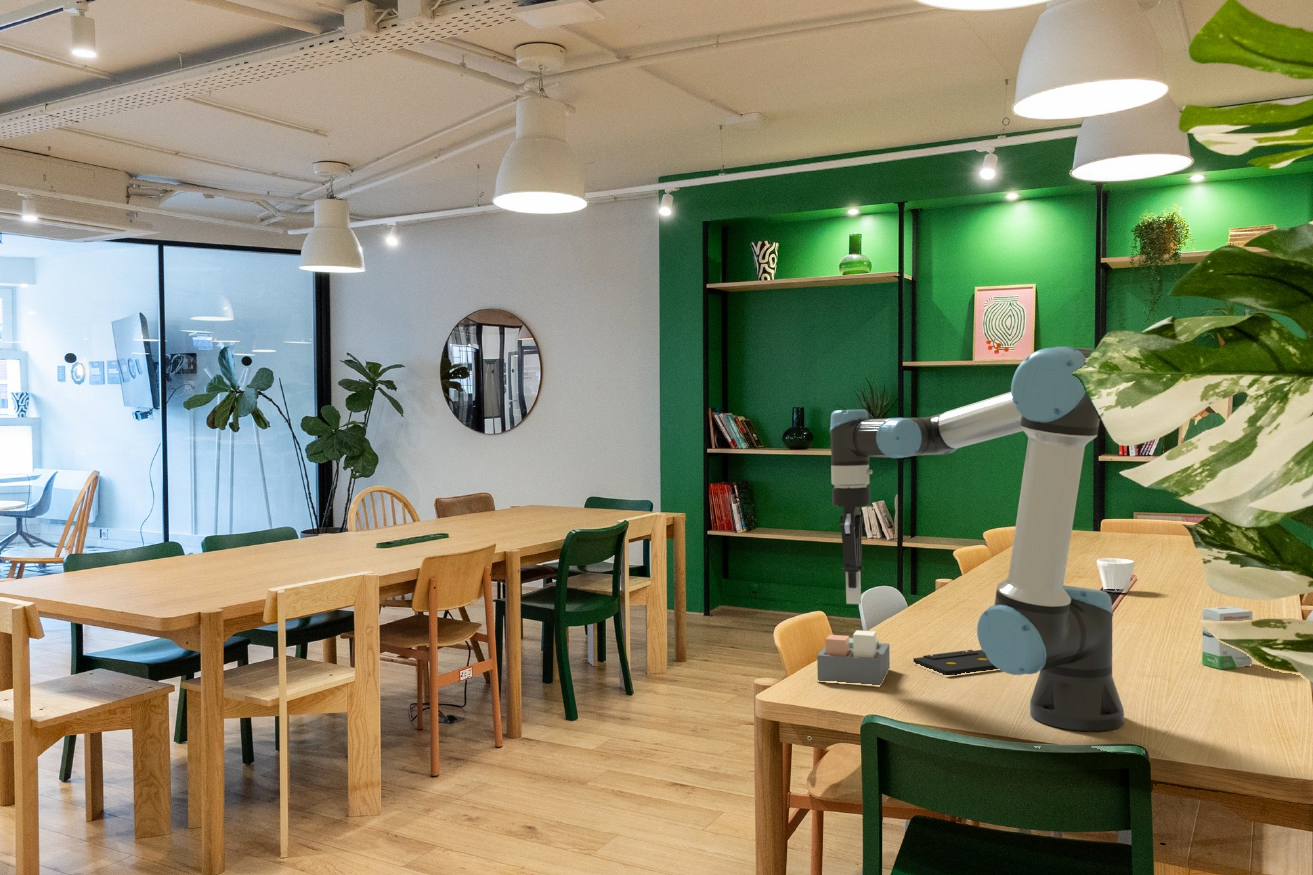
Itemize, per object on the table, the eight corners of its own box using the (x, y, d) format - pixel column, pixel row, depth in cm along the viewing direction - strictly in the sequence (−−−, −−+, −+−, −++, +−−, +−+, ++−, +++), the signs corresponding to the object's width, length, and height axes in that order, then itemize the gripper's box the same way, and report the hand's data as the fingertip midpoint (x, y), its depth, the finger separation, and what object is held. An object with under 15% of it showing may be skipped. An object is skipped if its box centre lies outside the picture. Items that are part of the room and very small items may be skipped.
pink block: (846, 669, 196) (845, 640, 196) (826, 668, 198) (825, 638, 198) (849, 665, 200) (849, 635, 200) (829, 663, 201) (829, 634, 201)
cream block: (873, 665, 194) (873, 635, 194) (853, 664, 196) (853, 634, 196) (876, 660, 198) (876, 631, 198) (856, 659, 199) (856, 630, 199)
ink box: (1220, 670, 201) (1219, 612, 201) (1200, 664, 206) (1200, 608, 205) (1254, 666, 203) (1253, 609, 203) (1234, 660, 208) (1234, 605, 208)
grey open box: (880, 687, 192) (879, 654, 192) (817, 682, 197) (817, 650, 197) (889, 669, 206) (889, 638, 205) (830, 665, 210) (830, 635, 210)
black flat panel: (981, 658, 216) (981, 648, 216) (1018, 670, 205) (1017, 660, 205) (912, 666, 210) (912, 656, 210) (946, 680, 199) (946, 669, 199)
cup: (1089, 590, 290) (1089, 559, 289) (1116, 588, 293) (1116, 557, 292) (1114, 596, 280) (1114, 564, 280) (1142, 593, 283) (1142, 562, 283)
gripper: (865, 488, 189) (868, 610, 190) (874, 484, 202) (876, 598, 202) (826, 488, 192) (829, 608, 192) (837, 484, 204) (840, 597, 204)
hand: (853, 603), depth 197 cm, fingers closed
